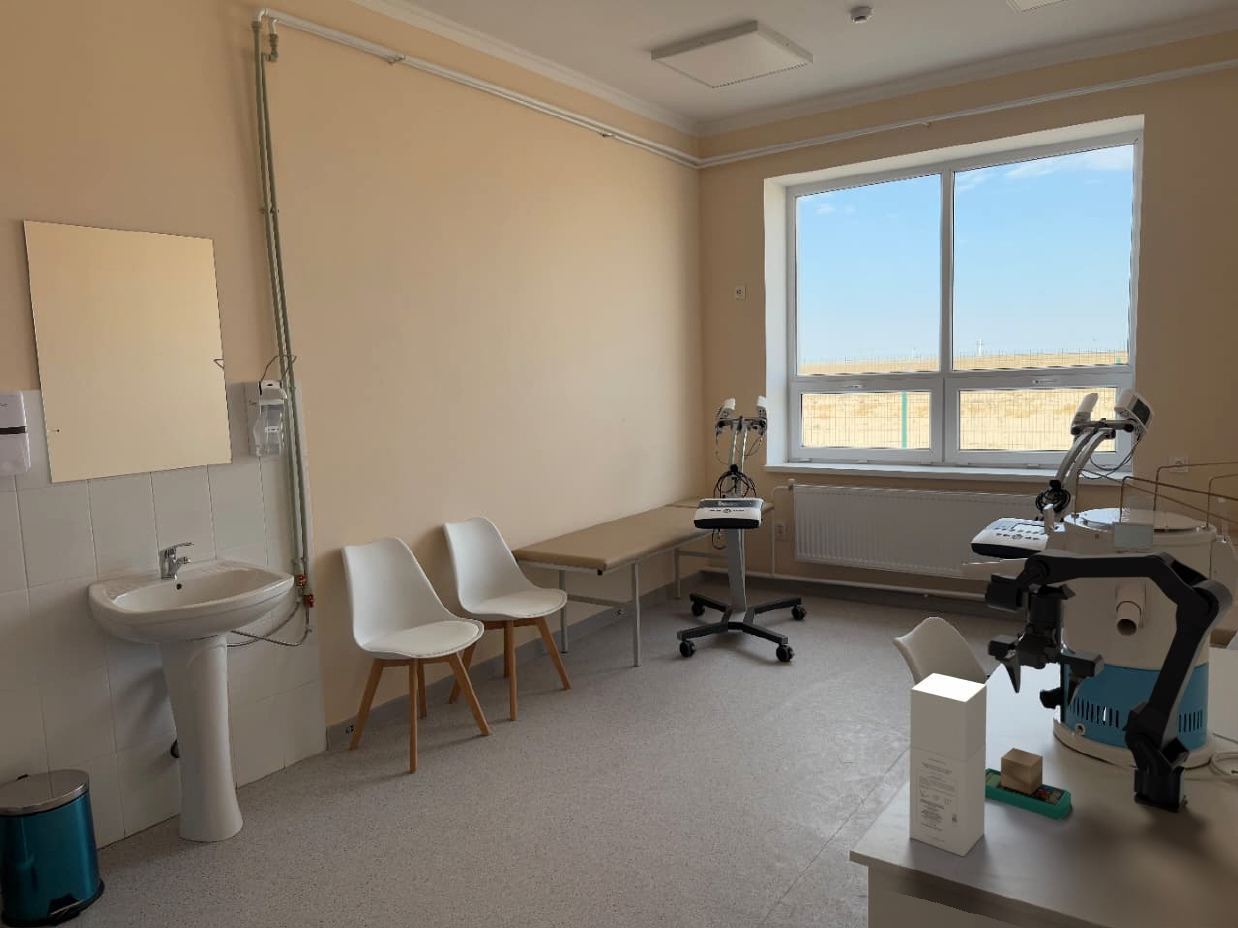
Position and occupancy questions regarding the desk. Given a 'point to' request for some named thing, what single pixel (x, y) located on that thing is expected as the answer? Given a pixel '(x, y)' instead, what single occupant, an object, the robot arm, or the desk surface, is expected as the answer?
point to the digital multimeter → (1029, 797)
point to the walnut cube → (1021, 770)
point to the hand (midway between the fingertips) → (1042, 698)
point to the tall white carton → (948, 762)
